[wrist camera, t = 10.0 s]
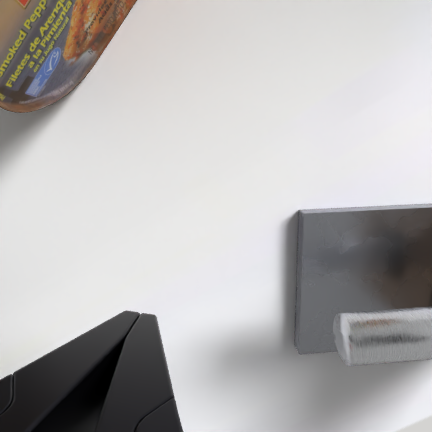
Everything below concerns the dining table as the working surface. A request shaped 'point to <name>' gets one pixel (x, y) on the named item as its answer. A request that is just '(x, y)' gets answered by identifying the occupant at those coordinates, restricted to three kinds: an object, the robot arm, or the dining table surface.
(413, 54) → the dining table surface
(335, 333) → the stand
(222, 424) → the dining table surface
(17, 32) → the tin
